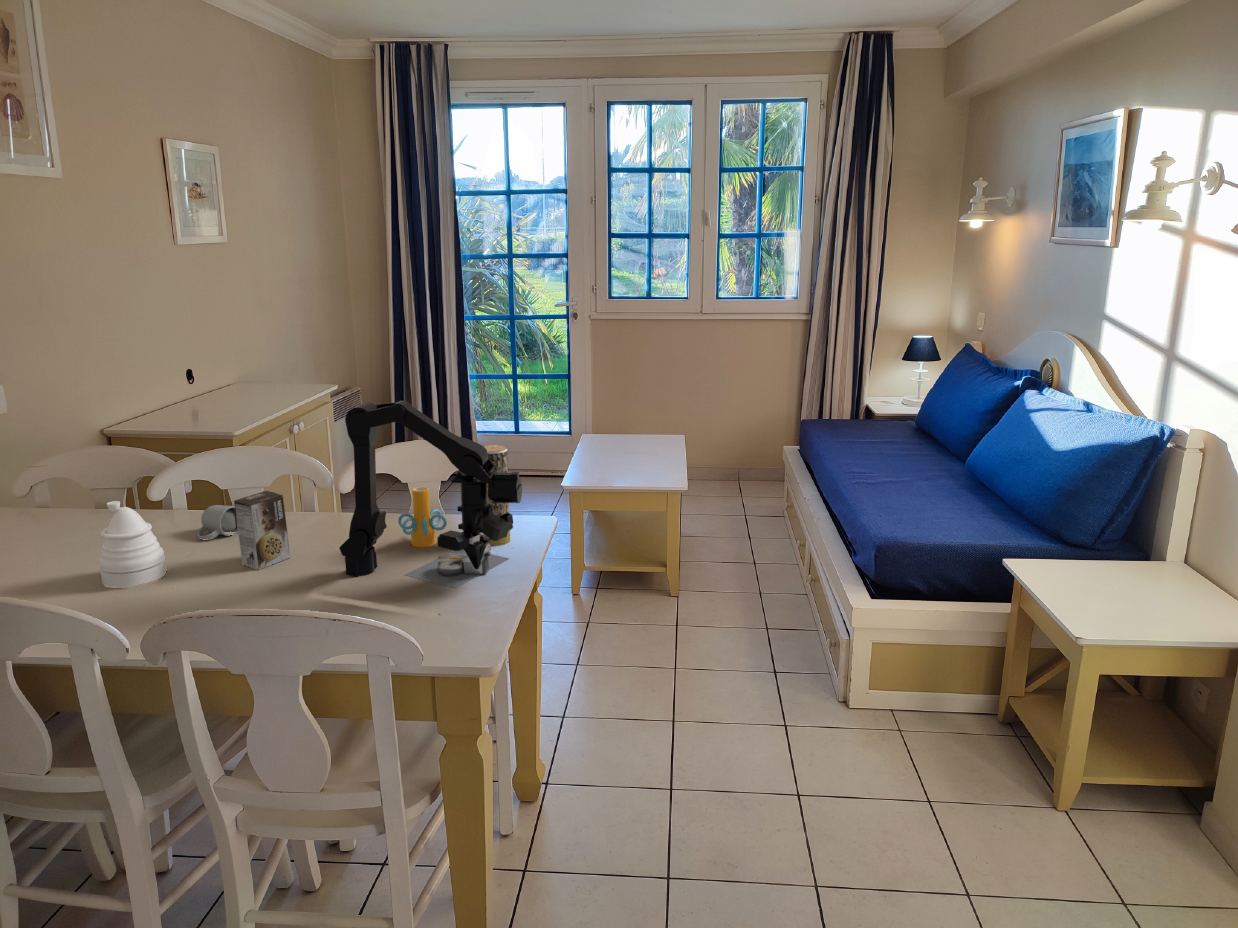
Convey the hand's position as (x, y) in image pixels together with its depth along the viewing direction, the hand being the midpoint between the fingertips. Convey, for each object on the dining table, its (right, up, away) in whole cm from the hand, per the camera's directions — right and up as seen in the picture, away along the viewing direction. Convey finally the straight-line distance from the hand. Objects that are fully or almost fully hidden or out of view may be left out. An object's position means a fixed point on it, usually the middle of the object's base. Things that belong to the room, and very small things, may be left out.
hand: (476, 568), depth 190 cm
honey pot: (-78, -2, +2) cm, 78 cm away
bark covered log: (+1, +3, +23) cm, 23 cm away
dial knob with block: (-4, -1, +3) cm, 5 cm away
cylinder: (-17, +3, +21) cm, 27 cm away
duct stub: (-1, +1, +12) cm, 12 cm away
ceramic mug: (-71, +5, +29) cm, 77 cm away
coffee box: (-52, 0, +11) cm, 53 cm away
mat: (-5, -1, +6) cm, 8 cm away
